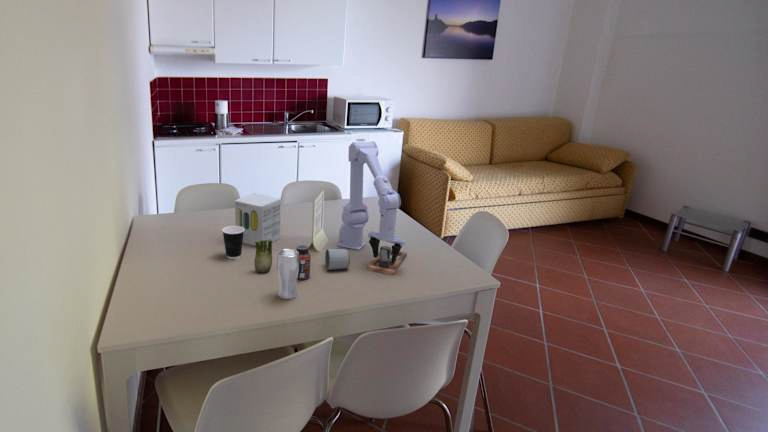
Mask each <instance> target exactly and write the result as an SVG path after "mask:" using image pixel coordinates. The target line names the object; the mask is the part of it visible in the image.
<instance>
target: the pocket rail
mask: <svg viewBox="0 0 768 432" xmlns="http://www.w3.org/2000/svg"><path fill="white" fill-rule="evenodd" d="M390 255H392V248H391V254H390ZM407 255H408V252H407V251H402V250H400V251H399V253H398V255H397V258H396V261H395V262H394V263H392V257H390V265H389V266H391V268H389V269H387V268H382V267H379V266H376V265H377V264H379V258H380V251H378V256H377V257H376V258H374V257H373V259H372V261H370V263H369V264H368V265H367V267H366V268H367V269H366V270H367V271H371V272H376V273H380V274H383V275H384V274H386V275H390V276H393V275H394V274H395V273H396V272H397V271H398V269H399V268H400V266H401V265H402V263H403V262H404V260H405V259H406V257H407Z"/></svg>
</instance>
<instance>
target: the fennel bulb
mask: <svg viewBox="0 0 768 432" xmlns="http://www.w3.org/2000/svg"><path fill="white" fill-rule="evenodd" d="M255 244H256V246H255V256H254V265H253V266H254V269H255V270H256V271H257V272H259V273H268V272H270V271H271V268H272V265H273V248H272V247H273V242H272V240H268V245H267V240H260V243H259V241H256V242H255Z"/></svg>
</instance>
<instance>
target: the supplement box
mask: <svg viewBox="0 0 768 432" xmlns="http://www.w3.org/2000/svg"><path fill="white" fill-rule="evenodd" d="M281 203H282V199H281V197H279V198H278V197H274V196H270V195H264V194H260V193H255V192H254V193H251V194H249V195H246V196H244V197H243V196H242V197H241V198H238V199H236V200H235V199H234V212H235V213H234V215H235V216H234V217H235V219H234V220H235V222H234V224H235V225H234V226H240V227H243V228H244V232H243V242H242V244H245V245H249V246H254V247H256V244H255V242H256V241H259V243H260V240H267V246H268V240H272V243H274V242H276V241H278V240H280V239H281V206H282V205H281Z"/></svg>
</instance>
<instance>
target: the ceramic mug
mask: <svg viewBox="0 0 768 432" xmlns="http://www.w3.org/2000/svg"><path fill="white" fill-rule="evenodd" d="M324 254H325V255H324V261H325V262H324V263H325V268H326V271H327V270H328V271H329V270H331V271H332V270H344V269H345V270H346V269H348V268H349V267H350V263H351V257H350V256H351V255H350V252H349V250H348V249H344V248H327V249H326V250H325V253H324Z"/></svg>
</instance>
